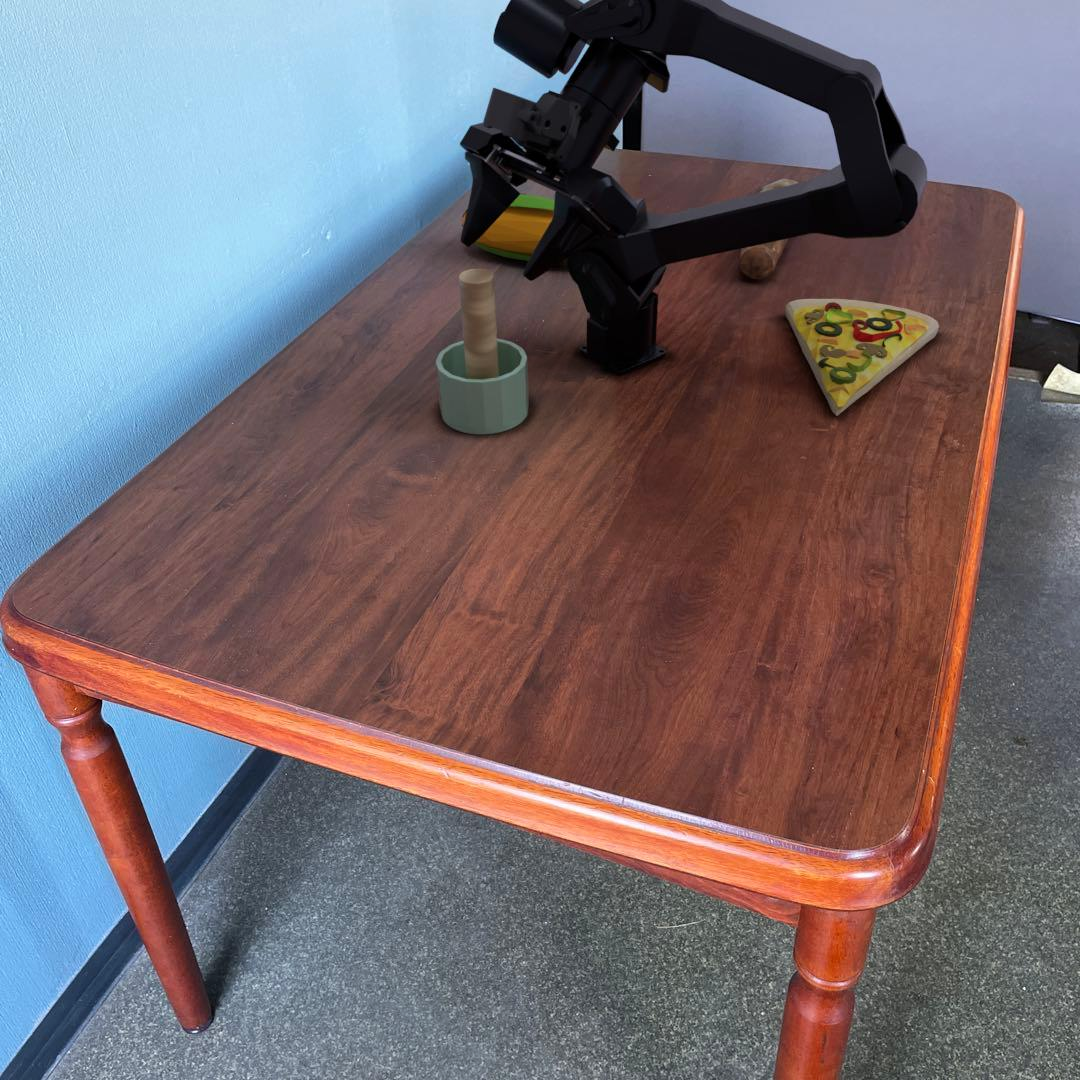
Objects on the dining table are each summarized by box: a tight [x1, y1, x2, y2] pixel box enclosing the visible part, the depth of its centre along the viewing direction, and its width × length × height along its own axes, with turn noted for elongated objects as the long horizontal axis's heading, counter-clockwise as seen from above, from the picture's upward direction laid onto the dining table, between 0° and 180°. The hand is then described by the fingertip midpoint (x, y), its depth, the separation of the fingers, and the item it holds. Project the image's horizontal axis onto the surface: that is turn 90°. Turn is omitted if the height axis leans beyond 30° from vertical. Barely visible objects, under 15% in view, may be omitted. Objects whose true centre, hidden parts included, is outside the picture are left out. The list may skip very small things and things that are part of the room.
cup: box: [435, 337, 530, 435], centre depth 99 cm, size 8×8×6 cm
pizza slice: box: [785, 298, 940, 417], centre depth 105 cm, size 16×21×3 cm
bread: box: [738, 177, 799, 280], centre depth 126 cm, size 6×19×6 cm, turn 160°
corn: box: [461, 193, 555, 262], centre depth 125 cm, size 7×8×20 cm
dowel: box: [458, 268, 499, 380], centre depth 97 cm, size 3×3×13 cm
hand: (494, 260), depth 95 cm, fingers open, 9 cm apart
